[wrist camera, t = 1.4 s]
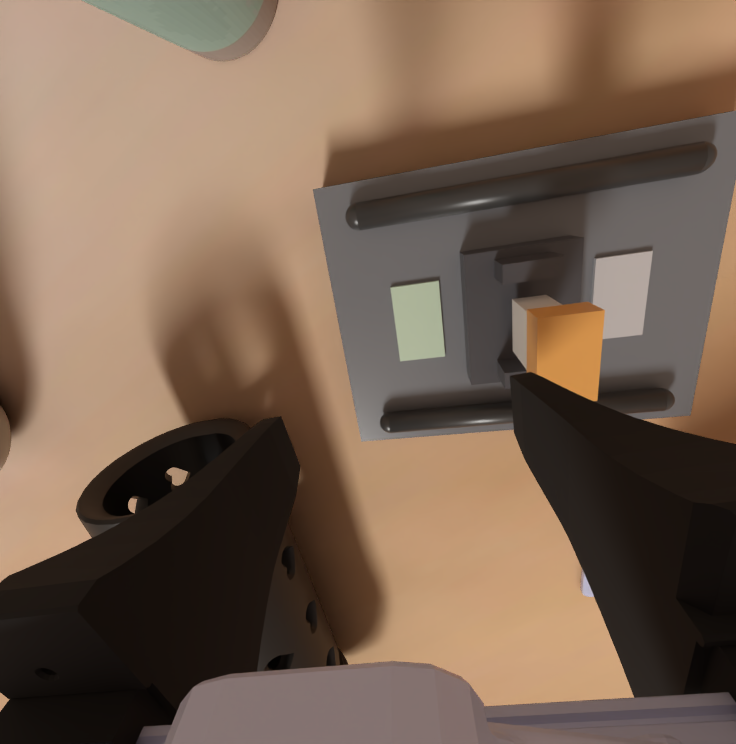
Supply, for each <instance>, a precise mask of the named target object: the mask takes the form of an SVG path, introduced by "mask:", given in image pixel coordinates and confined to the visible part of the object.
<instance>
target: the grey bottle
mask: <svg viewBox="0 0 736 744" xmlns="http://www.w3.org/2000/svg"><path fill="white" fill-rule="evenodd" d="M10 446H11V432H10V425H9V421H8V418H7V416H6V414H5V412H4V410H3V409H2V407H1V406H0V470H1V468H2V467H3V465H4V464H5V462H6V460H7V457H8V455H9V451H10Z"/></svg>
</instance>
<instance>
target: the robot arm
mask: <svg viewBox="0 0 736 744" xmlns="http://www.w3.org/2000/svg"><path fill="white" fill-rule="evenodd" d="M510 387H511V400H512V413H513V425H514V433H515V436H516V439H517V441H518V444H519V446H520V449H521V451H522V454H523V456H524V458H525V461H526V462H527V464H528V466H529V468H530V470H531V471H532V473H533V475H534V477H535V478H536V480H537V482H538V484H539V486H540V487H541V489H542V491H543V492H544V494H545V496H546V498H547V499H548V501H549V503H550V505H551V506H552V508H553V510H554V512H555V513H556V515H557V517H558V519H559V520H560V522H561V524H562V526H563V528H564V530H565V532H566V534H567V536H568V538H569V540H570V542H571V544H572V546H573V549H574V551H575V553H576V556H577V558H578V560H579V562H580V565H581V567H582V577H581V591H582V593H583V595H585V596H588V597H595V600H596V602H597V604H598V607H599V609H600V611H601V614H602V616H603V619H604V621H605V624H606V626H607V629H608V631H609V634H610V636H611V639H612V641H613V644H614V646H615V649H616V651H617V654H618V656H619V659H620V661H621V664H622V666H623V669H624V672H625V674H626V677H627V679H628V682H629V685H630V687H631V690H632V692H633V695H634V698H620V699H603V700H586V701H569V702H552V703H535V704H518V705H501V706H484V703H483V702H482V701H481V699H480V698H479V697H478V695H477V694H476V693H475V691H474V690H473V689H472V687H471V686H470V685H469V683H468V682H466V681H465V680H464V679H463V678H462V677H461V676H458V675H456V674H453V673H451V672H449V671H446V670H444V669H441V668H439V667H437V666H434V665H432V664H424V663H410V662H396V661H390V662H377V663H364V664H351V665H338V666H325V667H313V668H300V669H287V670H274V671H261V672H257V668H258V661H259V653H260V646H261V639H262V633H263V627H264V621H265V614H266V608H267V603H268V597H269V592H270V587H271V582H272V577H273V572H274V568H275V564H276V560H277V556H278V553H279V550H280V546H281V543H282V540H283V536H284V533H285V530H286V527H287V523H288V520H289V517H290V513H291V510H292V506H293V503H294V500H295V496H296V492H297V485H298V479H299V471H300V464H299V461H298V459H297V456H296V454H295V451H294V448H293V446H292V443H291V441H290V438H289V436H288V433H287V430H286V428H285V425H284V423H283V420H282V418H281V416H280V417H274V418H269V419H263V420H262V421H260V422H259V423H257V424H256V425H255V426H253V427H252V428H251V429H250V430H248V431H247V432H246V433H245V434H244V435H242V436H241V437H240V438H239V439H238V440H237V441H235V442H234V443H233V444H232V445H231V446H230V447H228V448H227V449H226V450H225V451H224V452H222V453H221V454H220V455H219V456H218V457H216V458H215V459H214V460H213V461H211V462H210V463H209V464H208V465H206V466H205V467H204V468H203V469H201V470H200V471H199V472H197V473H196V474H195V475H194V476H192V477H191V478H190V479H188V480H187V481H186V482H184V483H183V484H182V485H180V486H179V487H177V488H176V489H175V490H173V491H172V492H170V493H169V494H167V495H166V496H164V497H163V498H161V499H160V500H158V501H157V502H155V503H153V504H152V505H150V506H148V507H147V508H145V509H143V510H142V511H140V512H138V513H137V514H135V515H133V516H131V517H130V518H128V519H126V520H125V521H123V522H121V523H120V524H118V525H116V526H114V527H112V528H110V529H109V530H107V531H105V532H103V533H101V534H99V535H97V536H95V537H93V538H91V539H89V540H87V541H85V542H83V543H81V544H79V545H77V546H75V547H73V548H71V549H69V550H67V551H65V552H62V553H60V554H58V555H56V556H53V557H51V558H49V559H47V560H44V561H42V562H40V563H37V564H35V565H33V566H31V567H28V568H26V569H24V570H22V571H19V572H17V573H14V574H12V575H9V576H8V577H7V578H5V579H4V580H3V581H2V582H1V583H0V692H1V693H2V694H3V695H4V696H6V697H7V698H8V699H10V700H9V701H8V702H7V704H6V705H5V706H4V708H3V709H2V710H1V712H0V744H736V444H732V443H728V442H723V441H718V440H714V439H709V438H705V437H701V436H697V435H693V434H689V433H685V432H681V431H677V430H674V429H670V428H667V427H663V426H660V425H657V424H654V423H650V422H647V421H644V420H641V419H638V418H635V417H632V416H629V415H626V414H624V413H621V412H618V411H616V410H613V409H611V408H608V407H606V406H603V405H601V404H599V403H596V402H594V401H592V400H589V399H587V398H585V397H583V396H580V395H578V394H576V393H574V392H572V391H570V390H568V389H566V388H564V387H562V386H560V385H558V384H556V383H554V382H552V381H550V380H548V379H546V378H544V377H541V376H539V375H537V374H535V373H532V372H528V373H522V374H516V375H511V376H510Z"/></svg>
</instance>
